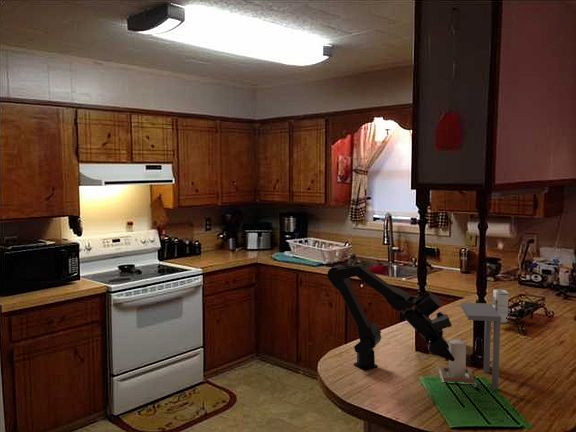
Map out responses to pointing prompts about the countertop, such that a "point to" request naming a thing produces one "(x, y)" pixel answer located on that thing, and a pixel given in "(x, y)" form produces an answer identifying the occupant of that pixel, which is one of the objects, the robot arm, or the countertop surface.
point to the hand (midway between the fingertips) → (452, 355)
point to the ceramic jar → (457, 359)
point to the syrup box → (501, 303)
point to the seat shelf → (485, 314)
